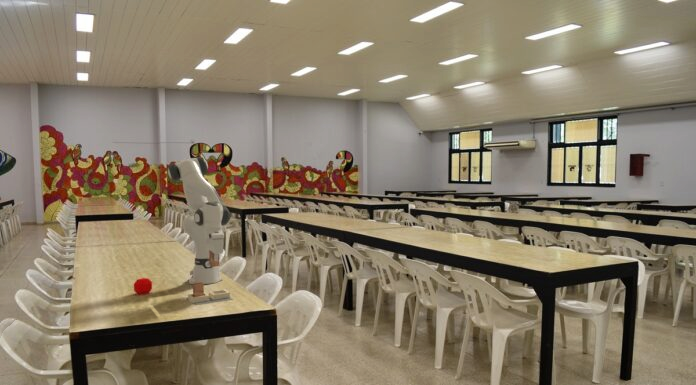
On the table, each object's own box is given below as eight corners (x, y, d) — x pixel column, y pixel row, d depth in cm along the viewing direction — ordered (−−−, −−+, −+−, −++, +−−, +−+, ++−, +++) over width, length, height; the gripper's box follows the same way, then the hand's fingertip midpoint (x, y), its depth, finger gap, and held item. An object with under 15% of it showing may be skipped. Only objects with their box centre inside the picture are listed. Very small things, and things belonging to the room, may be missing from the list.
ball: (145, 291, 262) (144, 276, 262) (154, 292, 258) (154, 278, 258) (131, 294, 255) (131, 279, 255) (141, 295, 251) (141, 281, 251)
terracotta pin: (209, 265, 252) (209, 250, 252) (217, 264, 254) (216, 249, 254) (211, 266, 249) (211, 251, 248) (219, 265, 251) (219, 250, 251)
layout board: (185, 300, 239) (185, 292, 239) (222, 294, 249) (221, 287, 249) (194, 308, 224) (194, 300, 224) (233, 302, 233) (233, 294, 233)
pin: (193, 300, 234) (192, 283, 234) (201, 298, 237) (201, 282, 236) (195, 301, 231) (194, 284, 231) (204, 300, 233) (203, 283, 233)
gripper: (201, 232, 258) (202, 258, 259) (212, 235, 241) (213, 264, 241) (213, 231, 261) (214, 257, 262) (225, 234, 244) (226, 262, 244)
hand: (214, 260), depth 251 cm, fingers closed on terracotta pin, 4 cm apart
